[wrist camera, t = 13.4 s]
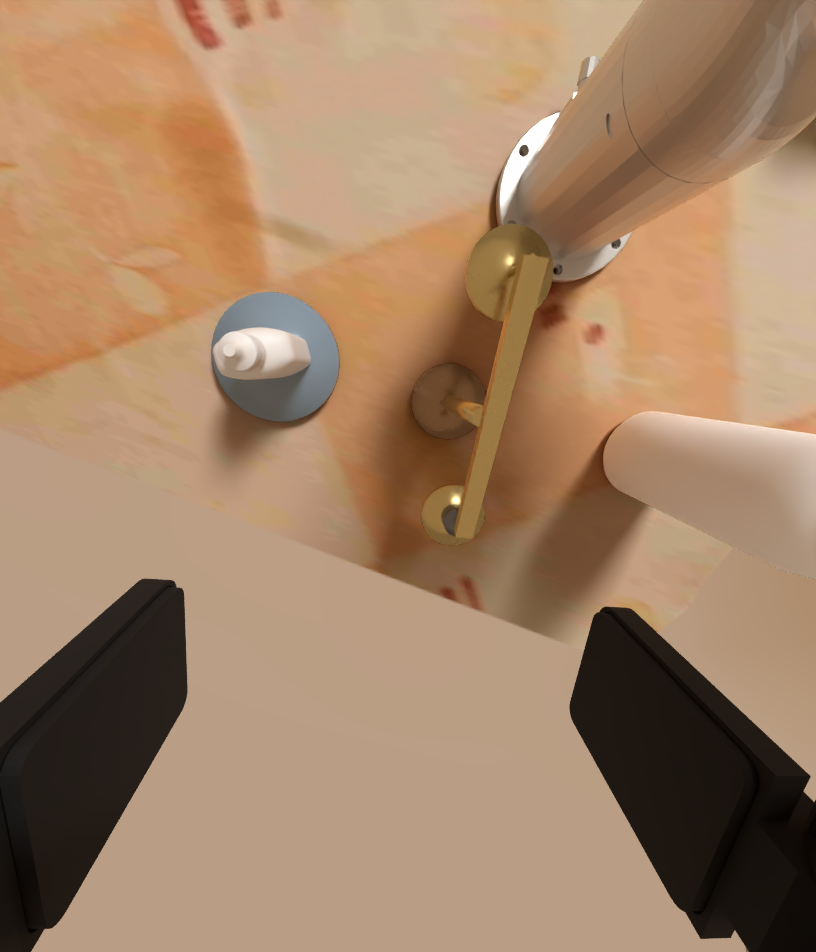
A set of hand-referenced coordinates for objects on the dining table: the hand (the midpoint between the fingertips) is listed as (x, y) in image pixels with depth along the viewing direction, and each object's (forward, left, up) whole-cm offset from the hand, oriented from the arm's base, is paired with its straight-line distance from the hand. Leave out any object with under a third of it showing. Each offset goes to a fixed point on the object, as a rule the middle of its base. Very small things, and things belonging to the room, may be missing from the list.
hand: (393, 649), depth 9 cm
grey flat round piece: (-6, -10, -30) cm, 32 cm away
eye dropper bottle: (-6, -10, -29) cm, 31 cm away
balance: (-4, +6, -30) cm, 31 cm away
